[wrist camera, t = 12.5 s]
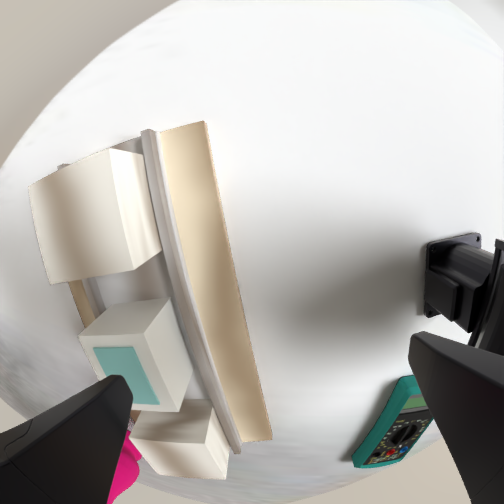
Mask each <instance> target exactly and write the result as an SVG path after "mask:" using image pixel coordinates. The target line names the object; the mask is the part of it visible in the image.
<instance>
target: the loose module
mask: <svg viewBox="0 0 504 504" xmlns="http://www.w3.org/2000/svg"><path fill="white" fill-rule="evenodd" d="M78 338H79V341H80V343H81V345H82V347H83V349H84V351H85V353H86V356H87V358H88V360H89V362H90V364H91V366H92V368H93V369H94V371H95V373H96V375H97V377H98V379H99V381H100V380H102V379H104V378H106V377H107V376H109V375H112V374H115V375H122V376H123V377H124V378H125V380H126V382H127V384H128V386H129V388H130V390H131V391H132V394H133V404H132V408H131V410H142V411H159V412H179V410H180V407H181V404H182V401H183V398H184V395H185V392H186V389H187V387H188V384H189V381H190V378H191V375H192V372H193V369H194V365H193V362H192V360H191V357H190V354H189V351H188V348H187V345H186V342H185V340H184V337H183V334H182V331H181V328H180V324H179V321H178V318H177V315H176V312H175V309H174V305H173V302H172V299H171V297H167V298H160V299H152V300H144V301H136V302H127V303H118V304H112V305H111V306H110V307H109V308H108V309H107V310H106V311H104V312H103V313H102V314H101V315H100V316H99V317H98V318H97V319H96V320H94V321H93V322H92V323H91V324H90V325H89V326H88V327H87V328H86V329H85V330H83V331H82V332H81V333H80V334H79V335H78Z"/></svg>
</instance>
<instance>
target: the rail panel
mask: <svg viewBox="0 0 504 504" xmlns="http://www.w3.org/2000/svg"><path fill="white" fill-rule="evenodd" d="M28 190H29V197H30V203H31V209H32V215H33V220H34V225H35V230H36V235H37V239H38V243H39V248H40V252H41V255H42V259H43V263H44V266H45V270H46V273H47V276H48V280H49V283H50V285H52V284H57V283H63V282H68V283H69V286H70V289H71V292H72V295H73V298H74V301H75V303H76V306H77V309H78V311H79V314H80V317H81V319H82V322H83V324H84V327H85V329H86V328H87V327H88V326H89V325H90V324H91V323H92V322H93V321H94V320H96V319H97V318H98V317H99V316H100V315H101V314H102V313H103V312H104V311H106V310H107V309H108V308H109V307H110V306H111V305H112V304H118V303H127V302H136V301H144V300H152V299H160V298H167V297H171V299H172V302H173V305H174V309H175V312H176V315H177V318H178V321H179V324H180V328H181V331H182V334H183V337H184V340H185V342H186V345H187V348H188V351H189V354H190V357H191V360H192V362H193V365H194V369H193V372H192V375H191V378H190V381H189V384H188V387H187V389H186V392H185V395H184V398H183V401H182V404H181V407H180V410H179V412H159V411H142V410H131V413H130V416H131V417H132V419H133V420H134V422H135V425H134V427H133V429H132V431H131V433H130V435H129V439H130V440H131V442H132V443H133V444H134V446H135V447H136V448H137V449H138V451H139V452H140V453H141V455H142V456H143V457H144V458H145V459H146V461H147V462H148V463H149V464H150V465H151V467H152V468H153V469H154V470H155V471H156V472H157V473H158V474H160V475H167V476H176V477H186V478H200V479H226V474H227V466H228V457H229V449H230V447H231V448H232V450H233V452H234V454H241V446H242V442H251V441H264V440H272V431H271V427H270V423H269V418H268V414H267V410H266V406H265V402H264V398H263V394H262V389H261V385H260V381H259V377H258V373H257V368H256V364H255V360H254V355H253V351H252V346H251V342H250V338H249V333H248V329H247V324H246V320H245V315H244V311H243V306H242V301H241V297H240V292H239V287H238V283H237V278H236V273H235V269H234V264H233V259H232V254H231V249H230V244H229V240H228V235H227V230H226V225H225V220H224V215H223V210H222V204H221V199H220V194H219V189H218V184H217V179H216V173H215V168H214V163H213V157H212V152H211V146H210V141H209V135H208V130H207V124H206V123H205V122H204V121H200V122H196V123H192V124H188V125H185V126H181V127H177V128H174V129H170V130H167V131H164V132H157V131H153V130H151V129H147V130H144V131H141V136H140V137H137V138H134V139H131V140H128V141H126V142H123V143H120V144H118V145H115V146H112V147H110V148H107V149H105V150H102V151H100V152H97V153H95V154H93V155H90V156H88V157H86V158H83V159H81V160H79V161H77V162H75V163H72V164H62V165H60V166H58V171H56V172H54V173H52V174H50V175H48V176H46V177H44V178H42V179H41V180H39V181H37V182H35V183H33V184H31V185H30V186H28Z"/></svg>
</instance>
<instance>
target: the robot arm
mask: <svg viewBox="0 0 504 504" xmlns="http://www.w3.org/2000/svg"><path fill="white" fill-rule="evenodd" d="M476 238H477V240H476ZM432 247H433V251H431V249H432ZM495 247H496V248H495V253H494V254H493V253H490V252H488V251H485V250H482V249H481V235H480V234H479V233H471V234H466V235H462V236H457V237H453V238H448V239H444V240H439V241H434V242H430V243H429V244H428V245H427V249H426V274H425V295H424V300H425V304H424V315H425V316H426V317H428V318H431V317H433V316H436V315H439V314H442V315H443V316H445V317H446V318H447V319H448V320H449V321H451V322H452V321H454V322H455V323H457V324H458V325H459V326H460V327H461V328H462V329H464V330H465V331H466V332H467V333H471V332H472V334H471V337H470V339H469V342H468V344H467V345H465V344H462V343H459V342H456V341H453V340H450V339H446V338H443V337H440V336H437V335H434V334H431V333H428V332H425V331H422V332H419V333H416V334H413V335H412V336H411V339H410V347H409V354H408V361H409V364H410V367H411V369H412V372H413V374H414V376H415V379H416V381H417V384H418V386H419V389H420V391H421V394H422V396H423V398H424V401H425V403H426V405H427V407H428V409H429V410H430V412H431V414H432V416H433V418H434V420H435V422H436V424H437V426H438V428H439V430H440V432H441V434H442V436H443V438H444V440H445V442H446V444H447V446H448V449H449V451H450V453H451V455H452V457H453V459H454V462H455V464H456V466H457V468H458V471H459V473H460V475H461V478H462V480H463V482H464V485H465V487H466V490H467V492H468V495H469V498H470V499H471V504H504V240H501V239H496V241H495ZM429 311H430V312H429ZM132 404H133V394H132V391H131V390H130V388H129V386H128V384H127V382H126V380H125V378H124V377H123V376H122V375H115V374H112V375H109V376H107V377H106V378H104V379H102V380H100V381H99V382H97V383H95V384H94V385H92V386H90V387H88V388H87V389H85V390H83V391H81V392H79V393H78V394H76V395H74V396H72V397H71V398H69V399H67V400H65V401H63V402H62V403H60V404H58V405H56V406H54V407H52V408H51V409H49V410H47V411H45V412H43V413H41V414H39V415H38V416H36V417H34V418H32V419H30V420H28V421H26V422H24V423H22V424H20V425H18V426H16V427H14V428H12V429H9V430H8V431H5V432H3V433H0V504H107V501H108V497H109V493H110V490H111V486H112V482H113V478H114V475H115V471H116V468H117V464H118V461H119V457H120V454H121V451H122V447H123V444H124V441H125V437H126V433H127V428H128V423H129V418H130V413H131V408H132Z"/></svg>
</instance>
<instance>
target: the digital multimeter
mask: <svg viewBox="0 0 504 504" xmlns="http://www.w3.org/2000/svg"><path fill="white" fill-rule="evenodd" d="M433 419H434V418H433V416H432V414H431V412H430V410H429V409H428V407H427V405H426V403H425V401H424V398H423V396H422V394H421V391H420V389H419V386H418V384H417V381H416V379H415V376H414V375H412V376H406V377H402V378H400V380H399V381H398V383H397V385H396V387H395V389H394V391H393V393H392V395H391V397H390V399H389V401H388V403H387V405H386V407H385V409H384V410H383V412H382V414H381V415H380V417H379V419H378V420H377V422H376V424H375V425H374V427H373V428H372V430H371V431H370V433H369V434H368V436H367V437H366V438H365V440H364V441H363V443H362V444H361V445H360V447H359V448H358V449H357V450H356V452H355V453H354V454H353V455H352V460H353V464H354V467H356V468H375V467H381V466H386V465H390V464H393V463H396V462H399V461H401V460H402V459H403V458H404V457H405V455H406V454H407V453H408V452H409V451H410V449H411V448H412V447H413V446H414V444H415V443H416V442H417V440H418V439H419V438H420V436H421V435H422V434H423V432H424V431H425V430H426V429H427V427H428V426H429V424H430V423H431V422H432V420H433Z"/></svg>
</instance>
